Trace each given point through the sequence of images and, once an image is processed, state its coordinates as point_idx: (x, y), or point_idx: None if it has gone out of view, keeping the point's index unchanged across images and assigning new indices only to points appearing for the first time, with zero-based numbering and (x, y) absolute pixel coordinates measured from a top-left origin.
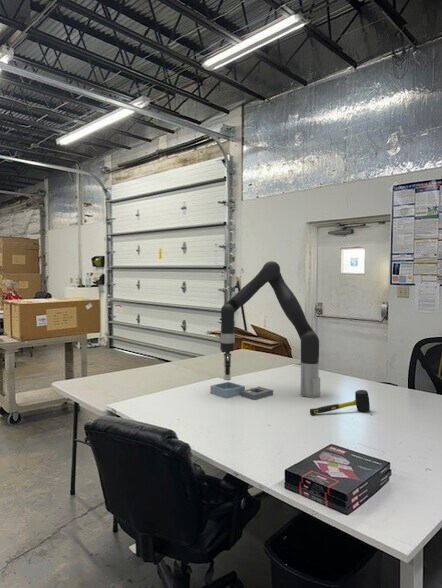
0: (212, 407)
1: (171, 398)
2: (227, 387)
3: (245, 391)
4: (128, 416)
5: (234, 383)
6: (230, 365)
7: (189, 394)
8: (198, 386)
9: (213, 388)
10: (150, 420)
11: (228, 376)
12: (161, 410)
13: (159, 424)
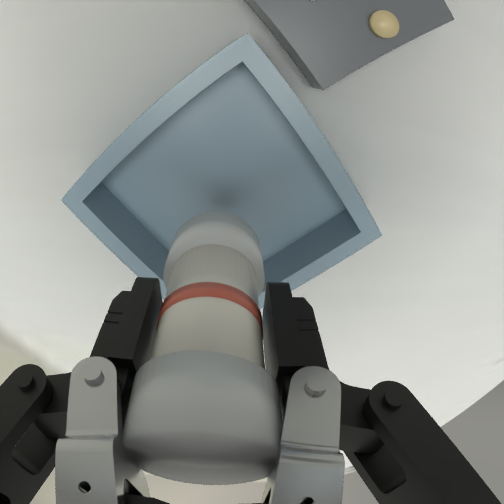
0: (472, 286)
1: None
2: (107, 190)
3: (344, 48)
4: None
5: (121, 140)
6: (247, 387)
7: None
8: (76, 342)
9: None
10: (466, 404)
11: (254, 269)
12: None
13: (497, 383)
